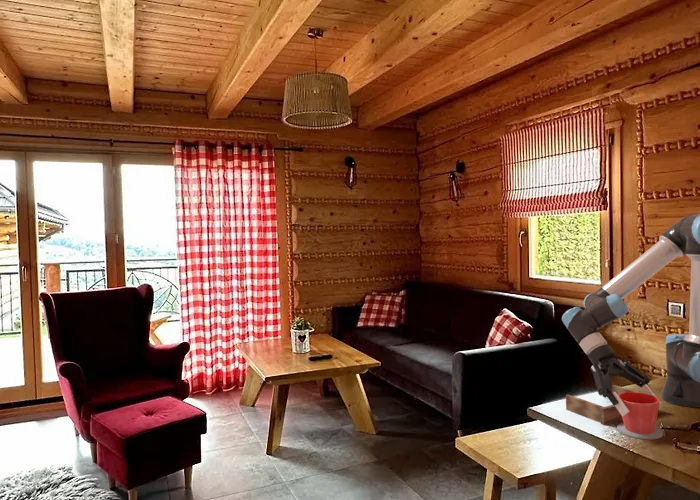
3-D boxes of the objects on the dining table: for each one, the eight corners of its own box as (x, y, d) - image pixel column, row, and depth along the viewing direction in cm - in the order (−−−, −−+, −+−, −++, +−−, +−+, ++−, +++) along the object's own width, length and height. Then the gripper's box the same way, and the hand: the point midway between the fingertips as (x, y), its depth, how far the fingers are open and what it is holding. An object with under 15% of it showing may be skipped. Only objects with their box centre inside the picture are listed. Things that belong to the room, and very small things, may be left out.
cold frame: (564, 409, 171) (564, 395, 171) (614, 398, 180) (614, 384, 180) (604, 424, 157) (603, 409, 157) (655, 411, 166) (655, 396, 166)
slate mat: (651, 423, 156) (651, 421, 156) (671, 439, 144) (671, 437, 144) (611, 423, 157) (610, 422, 157) (627, 439, 145) (626, 437, 145)
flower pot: (667, 437, 144) (665, 403, 144) (625, 436, 147) (624, 403, 146) (652, 423, 155) (651, 392, 154) (614, 422, 157) (613, 391, 157)
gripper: (618, 351, 170) (662, 408, 157) (562, 362, 160) (604, 423, 147) (631, 338, 165) (678, 395, 152) (575, 348, 155) (619, 411, 142)
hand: (642, 409), depth 149 cm, fingers open, 13 cm apart
